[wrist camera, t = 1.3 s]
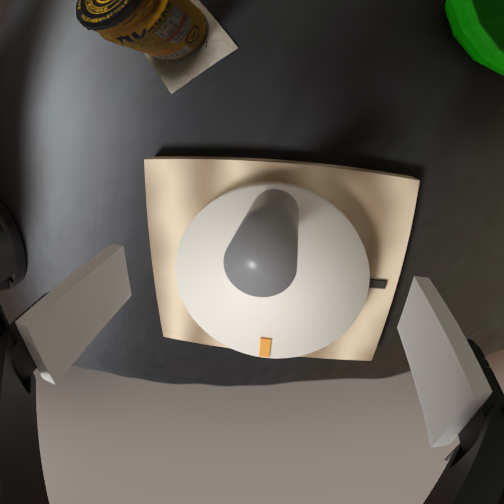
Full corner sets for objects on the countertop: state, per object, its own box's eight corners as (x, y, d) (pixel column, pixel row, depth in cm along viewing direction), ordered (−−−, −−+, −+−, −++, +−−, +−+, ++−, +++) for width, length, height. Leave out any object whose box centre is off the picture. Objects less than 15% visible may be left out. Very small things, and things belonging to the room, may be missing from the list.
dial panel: (169, 326, 35) (162, 338, 33) (154, 156, 27) (142, 159, 24) (368, 348, 32) (371, 362, 30) (411, 176, 24) (421, 181, 21)
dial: (189, 333, 32) (151, 410, 22) (178, 176, 25) (104, 215, 15) (345, 351, 30) (353, 437, 20) (380, 192, 23) (433, 245, 13)
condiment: (190, -9, 19) (129, -65, 8) (238, 48, 21) (193, -1, 11) (131, 36, 22) (49, 10, 11) (173, 94, 24) (92, 85, 13)
